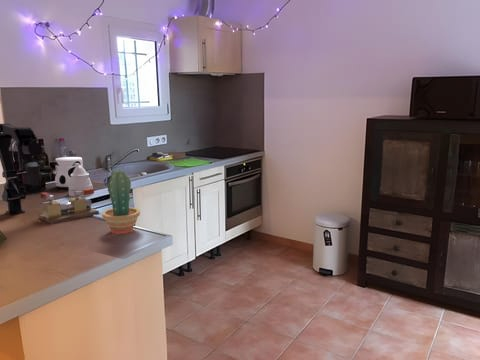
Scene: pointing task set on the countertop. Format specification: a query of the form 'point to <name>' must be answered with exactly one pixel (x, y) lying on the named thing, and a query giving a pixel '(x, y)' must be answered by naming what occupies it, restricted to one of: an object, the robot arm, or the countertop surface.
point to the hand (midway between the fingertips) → (30, 191)
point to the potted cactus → (119, 203)
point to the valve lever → (47, 196)
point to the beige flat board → (70, 216)
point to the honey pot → (79, 181)
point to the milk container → (65, 170)
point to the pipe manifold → (68, 205)
